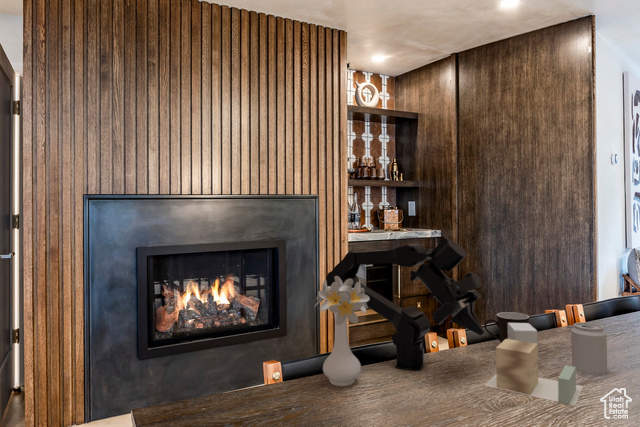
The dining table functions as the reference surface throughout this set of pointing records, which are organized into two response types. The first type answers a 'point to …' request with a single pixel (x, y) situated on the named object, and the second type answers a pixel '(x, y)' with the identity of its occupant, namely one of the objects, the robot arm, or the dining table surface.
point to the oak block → (517, 366)
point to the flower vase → (342, 328)
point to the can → (589, 348)
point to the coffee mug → (503, 323)
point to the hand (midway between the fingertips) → (482, 333)
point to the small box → (522, 332)
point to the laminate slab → (542, 389)
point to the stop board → (567, 384)
